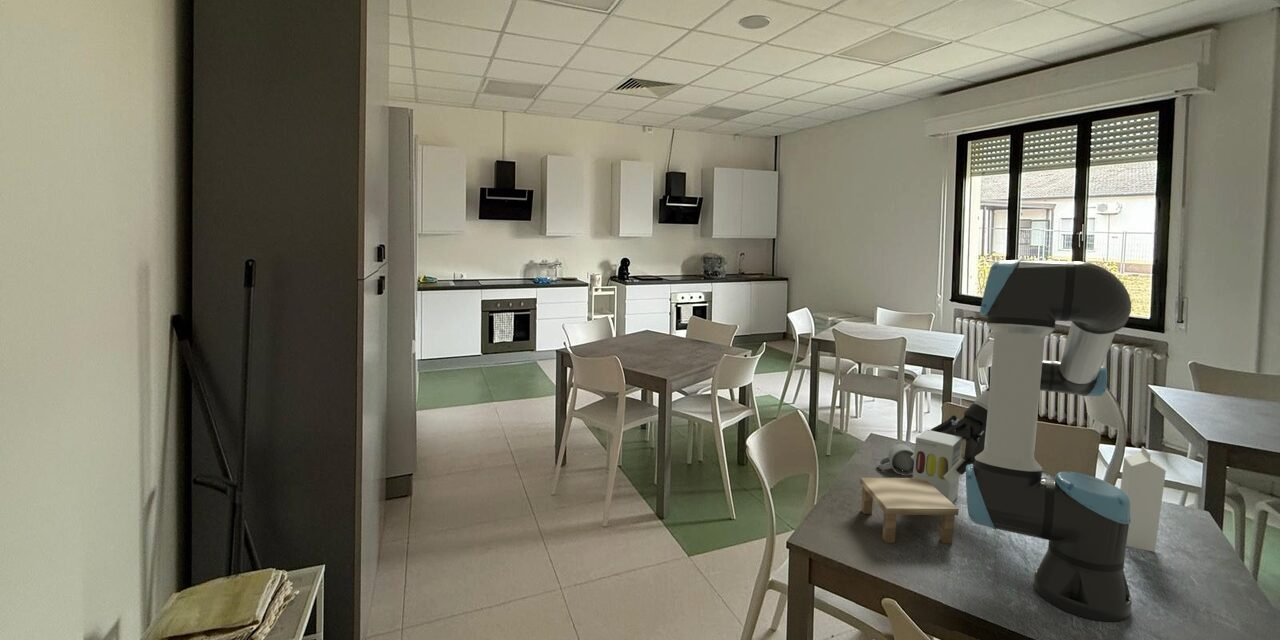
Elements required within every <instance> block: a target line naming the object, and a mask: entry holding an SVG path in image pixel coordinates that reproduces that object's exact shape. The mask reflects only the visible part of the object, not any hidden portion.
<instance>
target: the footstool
mask: <svg viewBox="0 0 1280 640" xmlns="http://www.w3.org/2000/svg"><path fill="white" fill-rule="evenodd" d="M859 484H860V486H862V487H861V488H862V490H861V505H860V506H861V507H860V511H861V512H862V514H864V515H872V514H873V503H874V501H875V504H877V505H878V507H880V508H881V510H882V511H883V520H882V521H883V524H882V540H883V541H884V542H885V543H886V544H889V543H890V544H891V543H893V544H894V543H895V542H896V530H897V529H896V528H897V516H899V515H901V516H902V515H904V516H906V515H907V516H916V515H917V516H940V524H939V525H940V527H939V536H938V537H939V540H940V541H941V543H943V544H953V542H954V530H955V529H954V528H955V516H959V510H960V509H959V508H958V507H957V506H956V505H955V504H954V503H953V502H950V501H949V500H948V499H947V498H946V497H945V496H944V495H943V494H941V493H940V492H939V491H938V490H937V489H936V488H935V487H934V486H932V485H931V484H930V483H929V482H928V481H927V480H926V479H925V478H913V477H860V478H859ZM873 500H874V501H873Z"/></svg>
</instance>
